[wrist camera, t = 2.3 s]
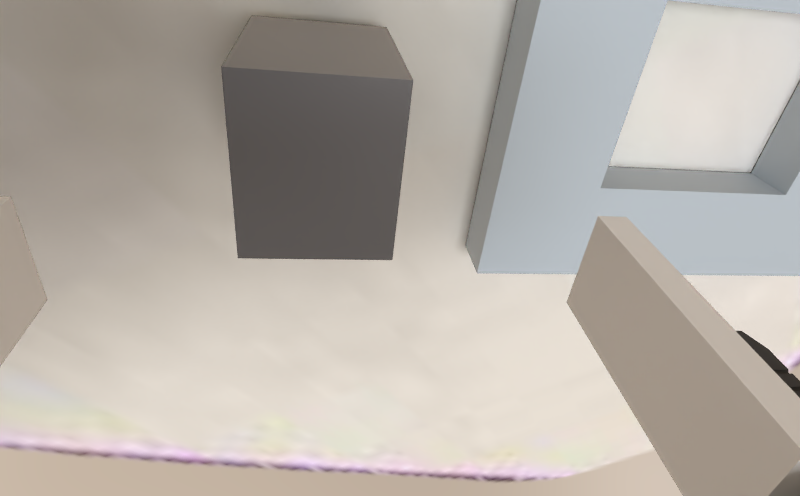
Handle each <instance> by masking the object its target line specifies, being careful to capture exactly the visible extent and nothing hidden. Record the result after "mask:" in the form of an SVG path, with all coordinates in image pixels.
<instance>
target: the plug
mask: <svg viewBox="0 0 800 496" xmlns="http://www.w3.org/2000/svg"><path fill="white" fill-rule="evenodd" d="M221 68H222V80H223V91H224V103H225V115H226V126H227V138H228V149H229V161H230V172H231V184H232V195H233V207H234V218H235V230H236V241H237V253H238V258H268V259H352V260H392V257H393V248H394V240H395V231H396V223H397V214H398V206H399V197H400V188H401V180H402V171H403V163H404V154H405V146H406V137H407V128H408V120H409V111H410V103H411V94H412V86H413V79H412V77H411V75H410V73H409V71H408V69H407V67H406V65H405V63H404V61H403V59H402V57H401V55H400V53H399V51H398V49H397V47H396V45H395V43H394V41H393V39H392V37H391V35H390V33H389V31H388V29H387V27H379V26H367V25H356V24H344V23H333V22H321V21H310V20H298V19H287V18H275V17H263V16H251V18H250V19H249V21H248V23H247V25H246V26H245V28H244V30H243V31H242V33H241V35H240V36H239V38H238V40H237V41H236V43H235V45H234V46H233V48H232V50H231V51H230V53H229V55H228V56H227V58H226V60H225V61H224V63H223V65H222V66H221Z"/></svg>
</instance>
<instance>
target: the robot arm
mask: <svg viewBox="0 0 800 496" xmlns="http://www.w3.org/2000/svg"><path fill="white" fill-rule="evenodd" d="M46 301H47V297H46V295H45V292H44V289H43V286H42V283H41V280H40V278H39V275H38V272H37V269H36V266H35V263H34V261H33V258H32V255H31V252H30V249H29V246H28V244H27V241H26V238H25V235H24V232H23V229H22V227H21V224H20V221H19V218H18V215H17V212H16V209H15V207H14V204H13V201H12V198H11V197H5V196H0V366H1V365H2V363H3V362H4V360H5V359H6V358H7V356H8V355H9V353H10V352H11V351H12V349H13V348H14V346H15V345H16V343H17V342H18V341H19V339H20V338H21V336H22V335H23V334H24V332H25V331H26V329H27V328H28V327H29V325H30V324H31V322H32V321H33V319H34V318H35V317H36V315H37V314H38V312H39V311H40V310H41V308H42V307H43V305H44V304H45V303H46ZM567 304H568V305H569V307H570V309H571V310H572V312H573V314H574V315H575V317H576V319H577V320H578V322H579V324H580V325H581V327H582V329H583V330H584V332H585V334H586V335H587V337H588V339H589V340H590V342H591V344H592V345H593V347H594V349H595V350H596V352H597V354H598V355H599V357H600V359H601V360H602V362H603V364H604V365H605V367H606V369H607V370H608V372H609V374H610V375H611V377H612V379H613V380H614V382H615V384H616V385H617V387H618V389H619V390H620V392H621V394H622V395H623V397H624V399H625V400H626V402H627V403H628V405H629V407H630V408H631V410H632V412H633V413H634V415H635V417H636V418H637V420H638V422H639V423H640V425H641V427H642V428H643V430H644V432H645V433H646V435H647V437H648V438H649V440H650V442H651V443H652V445H653V447H654V448H655V450H656V452H657V453H658V455H659V457H660V458H661V460H662V462H663V463H664V465H665V467H666V468H667V470H668V472H669V473H670V475H671V477H672V478H673V480H674V482H675V483H676V485H677V487H678V488H679V490H680V492H681V493H682V495H683V496H800V381H799V380H798V379H797V378H796V377H795V376H794V375H793V374H789V373H788V369H787V368H786V367H785V366H784V365H783V364H782V363H781V362H780V361H779V360H778V359H777V358H776V357H775V356H774V355H773V353H772V352H771V351H770V350H769V349H767V348H766V347H764V346H763V345H761V344H760V343H758V342H757V341H755V340H754V339H753V338H751V337H750V336H748V335H747V334H745V333H744V332H742V331H735V330H734V329H733V328H732V327H731V326H730V325H729V324H728V322H727V321H726V320H725V319H724V318H723V317H722V316H721V315H720V314H719V313H718V312H717V311H716V310H715V309H714V308H713V307H712V306H711V305H710V304H709V303H708V302H707V301H706V300H705V298H704V297H703V296H702V295H701V294H700V293H699V292H698V291H697V290H696V289H695V288H694V287H693V286H692V285H691V284H690V283H689V282H688V281H687V280H686V279H685V278H684V277H683V275H682V274H681V273H680V272H679V271H678V270H677V269H676V268H675V267H674V266H673V265H672V264H671V263H670V262H669V261H668V260H667V259H666V258H665V257H664V256H663V255H662V254H661V253H660V251H659V250H658V249H657V248H656V247H655V246H654V245H653V244H652V243H651V242H650V241H649V240H648V239H647V238H646V237H645V236H644V235H643V234H642V233H641V232H640V231H639V230H638V228H637V227H636V226H635V225H634V224H633V223H632V222H631V221H630V220H629V219H628V218H627V217H614V216H598V217H597V220H596V223H595V225H594V228H593V231H592V234H591V237H590V239H589V242H588V245H587V248H586V250H585V253H584V256H583V259H582V261H581V264H580V267H579V270H578V272H577V275H576V278H575V281H574V283H573V286H572V289H571V292H570V294H569V297H568V300H567Z"/></svg>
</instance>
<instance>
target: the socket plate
mask: <svg viewBox="0 0 800 496" xmlns="http://www.w3.org/2000/svg"><path fill="white" fill-rule="evenodd" d="M667 1H668V0H517V4H516V8H515V13H514V18H513V23H512V28H511V32H510V37H509V42H508V47H507V51H506V56H505V61H504V66H503V70H502V75H501V80H500V85H499V89H498V94H497V99H496V104H495V108H494V113H493V118H492V123H491V128H490V132H489V137H488V142H487V147H486V151H485V156H484V161H483V166H482V170H481V175H480V180H479V185H478V189H477V194H476V199H475V204H474V209H473V213H472V218H471V223H470V228H469V232H468V237H467V242H466V248H467V250H468V252H469V255H470V257H471V260H472V262H473V264H474V267H475V269H476V272H477V273H505V274H577V272H578V270H579V267H580V264H581V261H582V259H583V256H584V253H585V250H586V248H587V245H588V242H589V239H590V237H591V234H592V231H593V228H594V225H595V223H596V220H597V217H598V216H614V217H627V218H628V219H629V220H630V221H631V222H632V223H633V224H634V225H635V226H636V227H637V228H638V230H639V231H640V232H641V233H642V234H643V235H644V236H645V237H646V238H647V239H648V240H649V241H650V242H651V243H652V244H653V245H654V246H655V247H656V248H657V249H658V250H659V251H660V253H661V254H662V255H663V256H664V257H665V258H666V259H667V260H668V261H669V262H670V263H671V264H672V265H673V266H674V267H675V268H676V269H677V270H678V271H679V272H680V273H681V274H682V275H756V276H800V82H799V84H798V86H797V88H796V90H795V91H794V93H793V95H792V97H791V99H790V101H789V103H788V105H787V106H786V108H785V110H784V112H783V114H782V116H781V118H780V120H779V122H778V123H777V125H776V127H775V129H774V131H773V133H772V135H771V137H770V139H769V140H768V142H767V144H766V146H765V148H764V150H763V152H762V154H761V156H760V157H759V159H758V161H757V163H756V165H755V167H754V169H753V171H752V172H751V173H739V172H717V171H695V170H672V169H650V168H628V167H608V165H609V163H610V160H611V157H612V154H613V152H614V149H615V146H616V143H617V140H618V138H619V135H620V132H621V129H622V126H623V124H624V121H625V118H626V115H627V112H628V110H629V107H630V104H631V101H632V98H633V96H634V93H635V90H636V87H637V84H638V82H639V79H640V76H641V73H642V71H643V68H644V65H645V62H646V59H647V57H648V54H649V51H650V48H651V45H652V43H653V40H654V37H655V34H656V31H657V29H658V26H659V23H660V20H661V17H662V15H663V12H664V9H665V6H666V3H667ZM671 1H681V2H690V3H700V4H709V5H719V6H728V7H738V8H747V9H757V10H767V11H776V12H786V13H795V14H800V0H671Z"/></svg>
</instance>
